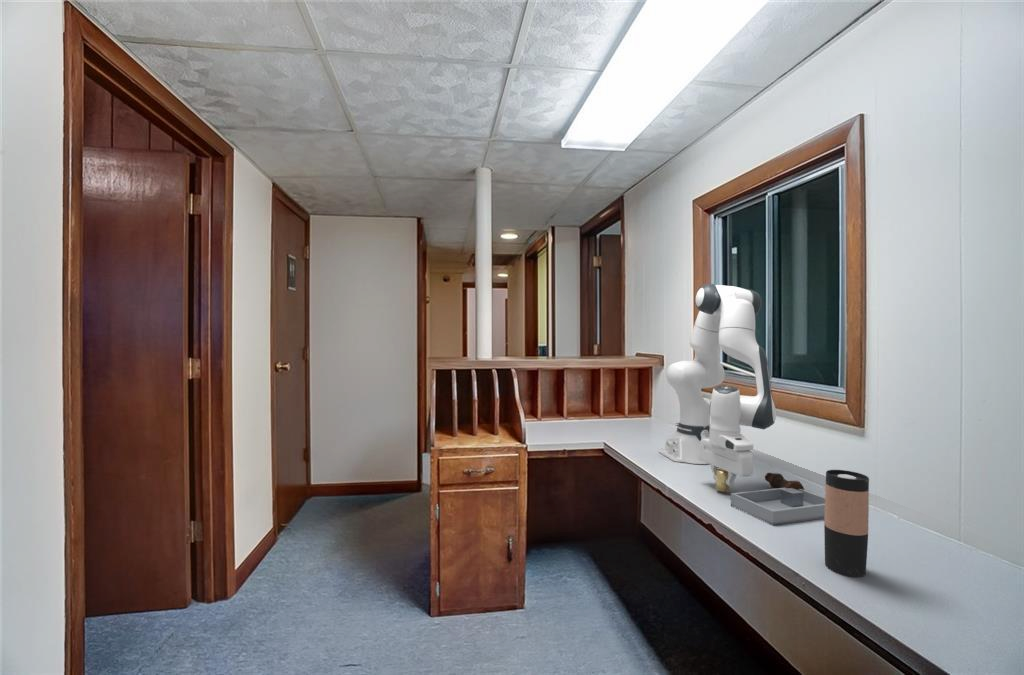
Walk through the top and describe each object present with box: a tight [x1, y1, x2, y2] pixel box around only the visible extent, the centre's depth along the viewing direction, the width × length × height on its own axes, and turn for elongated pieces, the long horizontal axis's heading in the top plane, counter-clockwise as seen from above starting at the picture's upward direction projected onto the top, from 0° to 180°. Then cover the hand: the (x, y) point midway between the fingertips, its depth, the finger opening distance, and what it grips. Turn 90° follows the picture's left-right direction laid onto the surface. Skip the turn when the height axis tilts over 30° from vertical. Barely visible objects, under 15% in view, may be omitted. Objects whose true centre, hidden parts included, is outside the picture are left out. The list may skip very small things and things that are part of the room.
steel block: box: [781, 488, 804, 508], centre depth 139 cm, size 4×4×4 cm
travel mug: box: [823, 469, 870, 578], centre depth 102 cm, size 8×8×20 cm
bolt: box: [764, 472, 805, 490], centre depth 152 cm, size 6×5×15 cm
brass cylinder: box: [715, 468, 731, 493], centre depth 151 cm, size 4×4×6 cm
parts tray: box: [730, 488, 825, 526], centre depth 136 cm, size 15×24×4 cm, turn 108°
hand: (723, 482), depth 151 cm, fingers closed on brass cylinder, 4 cm apart
